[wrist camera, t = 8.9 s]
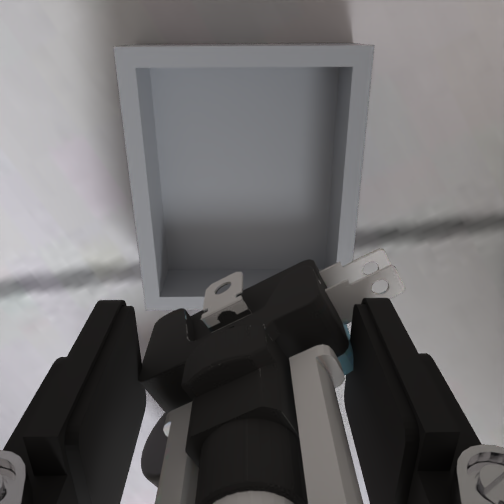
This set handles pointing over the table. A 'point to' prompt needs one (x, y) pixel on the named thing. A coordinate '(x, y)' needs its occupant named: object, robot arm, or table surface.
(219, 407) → the push button
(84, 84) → the table surface
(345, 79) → the rectangular tray
